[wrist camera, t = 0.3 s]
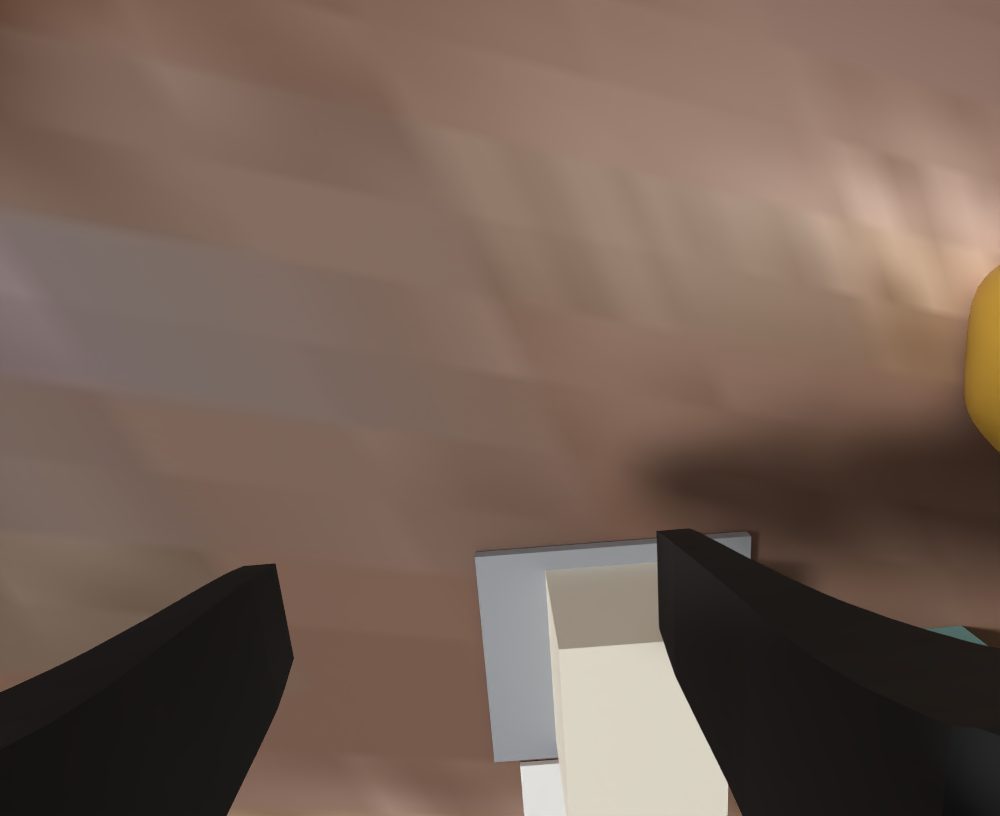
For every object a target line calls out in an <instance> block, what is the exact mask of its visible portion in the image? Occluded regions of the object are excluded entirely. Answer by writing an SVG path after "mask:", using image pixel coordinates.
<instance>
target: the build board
mask: <svg viewBox="0 0 1000 816" xmlns="http://www.w3.org/2000/svg"><path fill="white" fill-rule="evenodd" d="M703 535H706V536H708V537H709V538H711V539H713V540H715V541H717V542H719V543H721V544H723V545H725V546H727V547H729V548H731V549H733V550H734V551H736V552H738V553H740V554H742V555H744V556H746V557H748V558H750V559H751V535H750V534H749V533H748V532H747V531H742V532H729V533H716V534H703ZM652 562H657V538H651V539H638V540H625V541H612V542H599V543H586V544H573V545H560V546H547V547H534V548H521V549H508V550H495V551H482V552H475V563H476V574H477V584H478V594H479V605H480V615H481V625H482V636H483V646H484V656H485V667H486V677H487V688H488V698H489V708H490V719H491V729H492V739H493V750H494V760H495V762H503V761H516V760H530V759H543V758H556V757H558V751H557V744H556V730H555V715H554V700H553V684H552V669H551V654H550V638H549V623H548V608H547V592H546V577H545V571H548V570H561V569H574V568H587V567H600V566H613V565H626V564H639V563H652Z"/></svg>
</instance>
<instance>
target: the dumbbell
mask: <svg viewBox="0 0 1000 816" xmlns="http://www.w3.org/2000/svg"><path fill="white" fill-rule="evenodd" d="M964 399H965V403H966V408H967V411H968V413H969V415H970V418H971V420H972V421H973V423H974V424H975V425H976V427H977V428H978V430H979V431H980V432H981V433H982V434H983V436H984V437H985V438H986V439H987V440H988V441H989V443H990V444H991V445H992V446H993V447H994V448H995V449H996V450H997V451H998V452H999V453H1000V265H999V266H998V267H996V268H995V269H994V270H993V271H992V272H991V273H990V274H988V275H987V276H986V277H985V279H984V280H983V281H982V283H981V284H980V285H979V287H978V289H977V292H976V294H975V297H974V299H973V302H972V306H971V311H970V315H969V323H968V333H967V346H966V359H965V372H964Z"/></svg>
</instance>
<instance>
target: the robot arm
mask: <svg viewBox="0 0 1000 816" xmlns="http://www.w3.org/2000/svg"><path fill="white" fill-rule="evenodd" d="M657 572H658V612H659V630H660V633H661V636H662V639H663V642H664V645H665V648H666V651H667V654H668V657H669V660H670V663H671V666H672V668H673V671H674V674H675V677H676V679H677V681H678V683H679V685H680V687H681V689H682V691H683V693H684V695H685V698H686V700H687V702H688V704H689V706H690V708H691V710H692V712H693V714H694V716H695V718H696V720H697V722H698V724H699V726H700V728H701V730H702V732H703V734H704V736H705V738H706V740H707V742H708V744H709V746H710V748H711V750H712V752H713V754H714V756H715V758H716V761H717V763H718V765H719V767H720V769H721V771H722V773H723V775H724V777H725V779H726V781H727V783H728V785H729V787H730V789H731V791H732V793H733V795H734V798H735V800H736V802H737V804H738V807H739V809H740V811H741V813H742V816H1000V649H998V648H993V647H989V646H985V645H981V644H977V643H973V642H969V641H965V640H961V639H958V638H954V637H951V636H947V635H944V634H940V633H937V632H933V631H930V630H926V629H922V628H919V627H915V626H912V625H909V624H906V623H903V622H900V621H897V620H893V619H890V618H887V617H885V616H882V615H879V614H876V613H874V612H871V611H868V610H865V609H862V608H860V607H857V606H854V605H851V604H849V603H846V602H843V601H841V600H838V599H836V598H833V597H831V596H828V595H826V594H824V593H821V592H819V591H817V590H815V589H812V588H810V587H808V586H806V585H803V584H801V583H799V582H797V581H794V580H792V579H790V578H788V577H786V576H784V575H782V574H780V573H778V572H775V571H773V570H771V569H769V568H767V567H765V566H763V565H761V564H759V563H758V562H756V561H754V560H752V559H750V558H748V557H746V556H744V555H742V554H740V553H738V552H736V551H734V550H733V549H731V548H729V547H727V546H725V545H723V544H721V543H719V542H717V541H715V540H713V539H711V538H709V537H708V536H706V535H703V534H701V533H699V532H697V531H695V530H692V529H677V530H665V531H657ZM293 659H294V657H293V651H292V646H291V641H290V636H289V631H288V626H287V621H286V615H285V610H284V605H283V600H282V595H281V590H280V585H279V579H278V574H277V569H276V564H264V565H252V566H243V567H240V568H238V569H236V570H233V571H231V572H229V573H227V574H225V575H223V576H221V577H219V578H217V579H215V580H214V581H212V582H210V583H208V584H206V585H205V586H203V587H201V588H199V589H198V590H196V591H194V592H192V593H191V594H189V595H187V596H186V597H184V598H182V599H180V600H179V601H177V602H175V603H173V604H172V605H170V606H168V607H167V608H165V609H163V610H161V611H160V612H158V613H156V614H154V615H153V616H151V617H149V618H148V619H146V620H144V621H142V622H140V623H138V624H137V625H135V626H133V627H131V628H129V629H127V630H126V631H124V632H122V633H120V634H118V635H116V636H115V637H113V638H111V639H109V640H107V641H105V642H104V643H102V644H100V645H98V646H96V647H94V648H92V649H91V650H89V651H87V652H85V653H83V654H81V655H79V656H77V657H75V658H73V659H71V660H69V661H67V662H65V663H63V664H61V665H59V666H57V667H55V668H53V669H51V670H49V671H46V672H44V673H42V674H40V675H38V676H36V677H33V678H31V679H29V680H27V681H25V682H22V683H20V684H18V685H16V686H14V687H11V688H9V689H7V690H5V691H2V692H0V816H227V814H228V812H229V810H230V808H231V805H232V803H233V801H234V799H235V797H236V795H237V793H238V791H239V789H240V787H241V785H242V783H243V781H244V779H245V777H246V774H247V772H248V770H249V768H250V766H251V764H252V762H253V760H254V758H255V756H256V754H257V752H258V750H259V748H260V745H261V743H262V741H263V739H264V737H265V735H266V733H267V731H268V729H269V726H270V724H271V722H272V720H273V718H274V716H275V713H276V711H277V709H278V706H279V703H280V700H281V697H282V694H283V692H284V689H285V686H286V682H287V679H288V676H289V672H290V669H291V666H292V662H293Z"/></svg>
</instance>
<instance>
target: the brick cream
mask: <svg viewBox="0 0 1000 816" xmlns="http://www.w3.org/2000/svg"><path fill="white" fill-rule="evenodd" d="M545 577H546V592H547V608H548V623H549V638H550V654H551V669H552V684H553V700H554V715H555V730H556V744H557V751H558V759H559V766H560V773H561V781H562V788H563V796H564V803H565V811H566V816H727V810H728V783H727V781H726V779H725V777H724V775H723V773H722V771H721V769H720V767H719V765H718V763H717V761H716V758H715V756H714V754H713V752H712V750H711V748H710V746H709V744H708V742H707V740H706V738H705V736H704V734H703V732H702V730H701V728H700V726H699V724H698V722H697V720H696V718H695V716H694V714H693V712H692V710H691V708H690V706H689V704H688V702H687V700H686V698H685V695H684V693H683V691H682V689H681V687H680V685H679V683H678V681H677V679H676V677H675V674H674V671H673V668H672V666H671V663H670V660H669V657H668V654H667V651H666V648H665V645H664V642H663V639H662V636H661V633H660V630H659V612H658V572H657V562H652V563H639V564H626V565H613V566H600V567H587V568H574V569H561V570H548V571H545Z"/></svg>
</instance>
